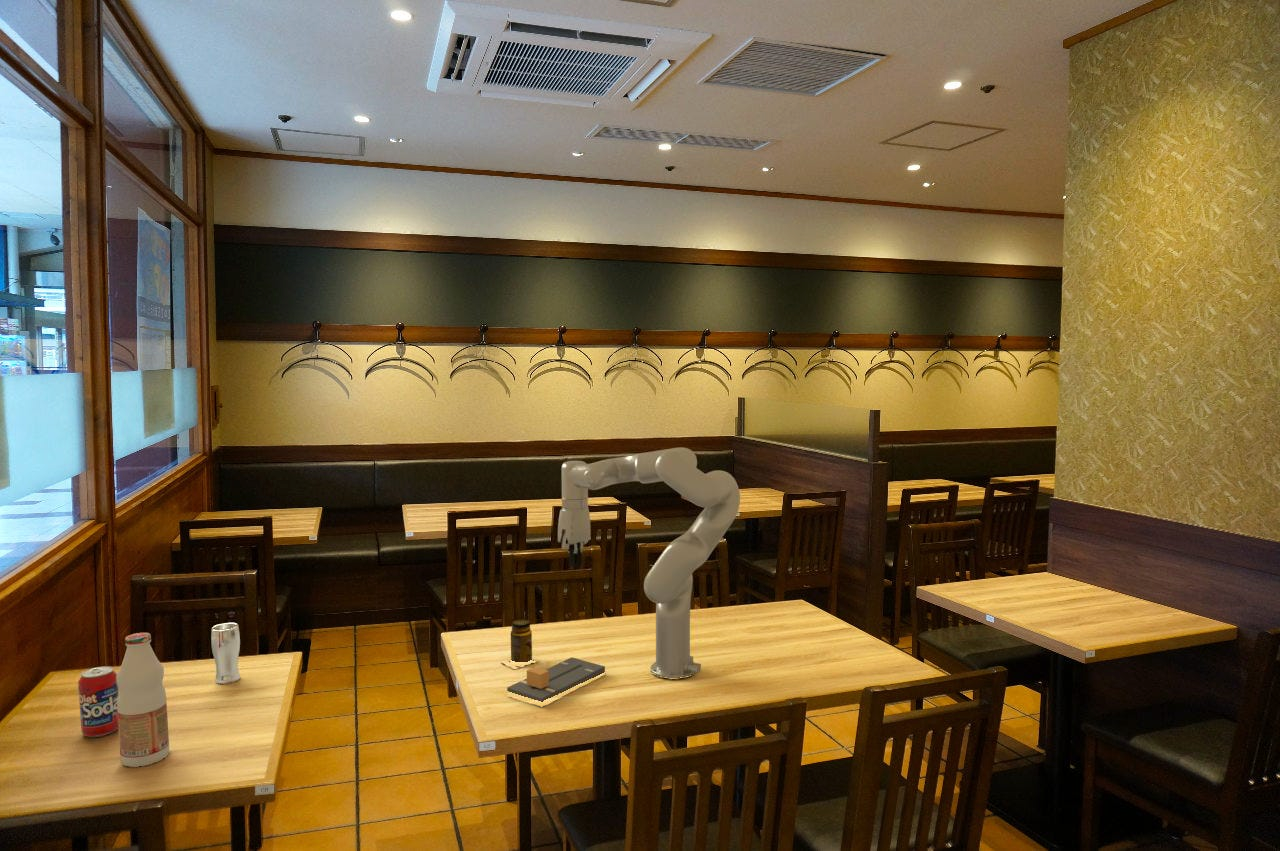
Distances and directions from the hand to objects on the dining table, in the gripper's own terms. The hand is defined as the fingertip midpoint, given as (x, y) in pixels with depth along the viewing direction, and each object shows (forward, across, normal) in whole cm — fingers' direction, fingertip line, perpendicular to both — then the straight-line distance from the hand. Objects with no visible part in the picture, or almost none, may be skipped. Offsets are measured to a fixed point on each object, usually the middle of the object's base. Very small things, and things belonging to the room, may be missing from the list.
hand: (575, 565), depth 246 cm
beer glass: (+28, +68, -67) cm, 100 cm away
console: (+27, +20, +10) cm, 35 cm away
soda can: (+28, +102, -62) cm, 123 cm away
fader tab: (+24, +28, +10) cm, 38 cm away
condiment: (+27, +14, -10) cm, 32 cm away
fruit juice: (+27, +103, -40) cm, 113 cm away
